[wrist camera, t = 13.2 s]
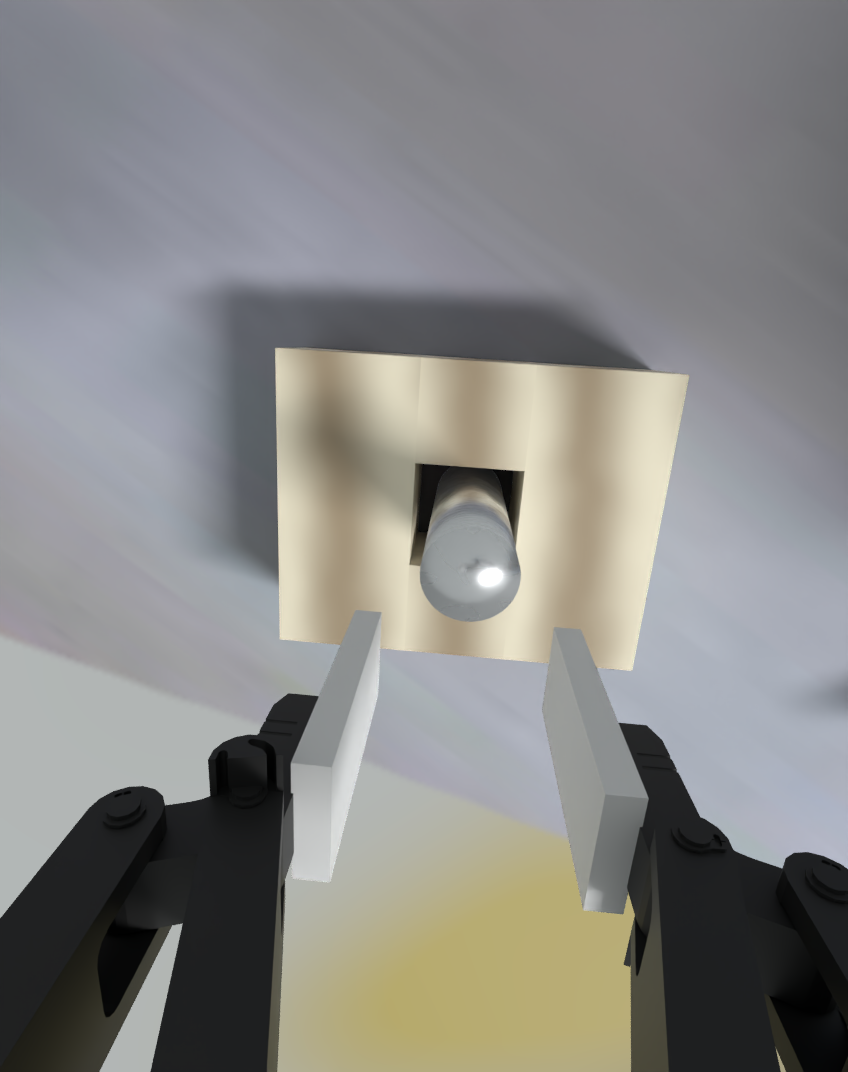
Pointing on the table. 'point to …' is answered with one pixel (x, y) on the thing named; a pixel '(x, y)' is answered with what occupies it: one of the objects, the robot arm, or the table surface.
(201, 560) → the table surface
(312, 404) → the block
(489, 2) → the table surface
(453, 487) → the steel pin
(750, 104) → the table surface
